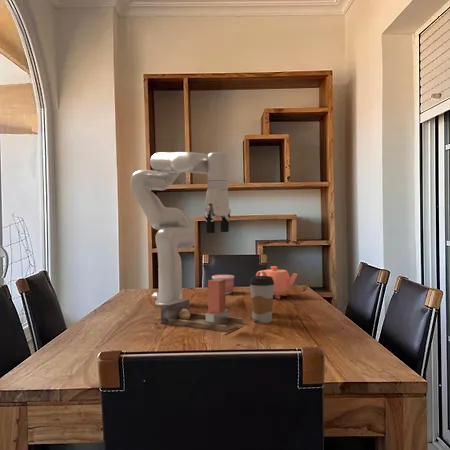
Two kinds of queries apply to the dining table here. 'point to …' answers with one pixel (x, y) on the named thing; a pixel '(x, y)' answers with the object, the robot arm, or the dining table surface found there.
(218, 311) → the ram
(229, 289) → the container
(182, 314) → the walnut
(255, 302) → the coffee cup
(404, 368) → the dining table surface
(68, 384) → the dining table surface
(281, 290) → the teapot
